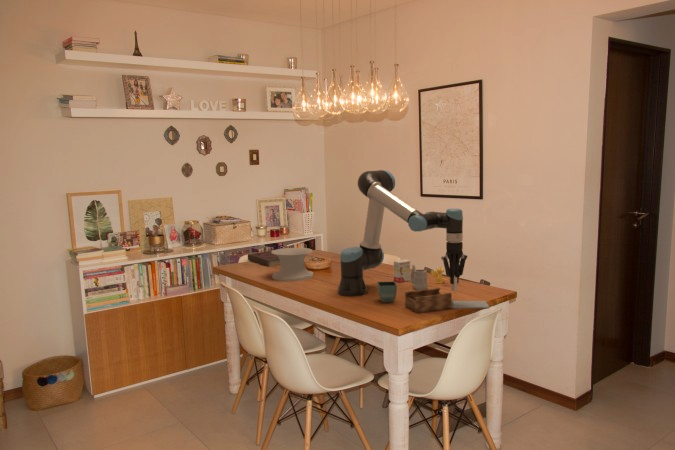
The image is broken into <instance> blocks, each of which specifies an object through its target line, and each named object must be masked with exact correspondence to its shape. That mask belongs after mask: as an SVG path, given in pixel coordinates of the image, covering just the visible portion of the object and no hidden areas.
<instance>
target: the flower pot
mask: <svg viewBox="0 0 675 450" xmlns="http://www.w3.org/2000/svg"><path fill="white" fill-rule="evenodd" d="M376 284H377V290H378V291H377V293H378V296H379V298H380V300H381V302H382V303H393V302H394V300H395V299H396V295H397V291H398V285H397V282H396V281H377V283H376Z"/></svg>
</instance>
